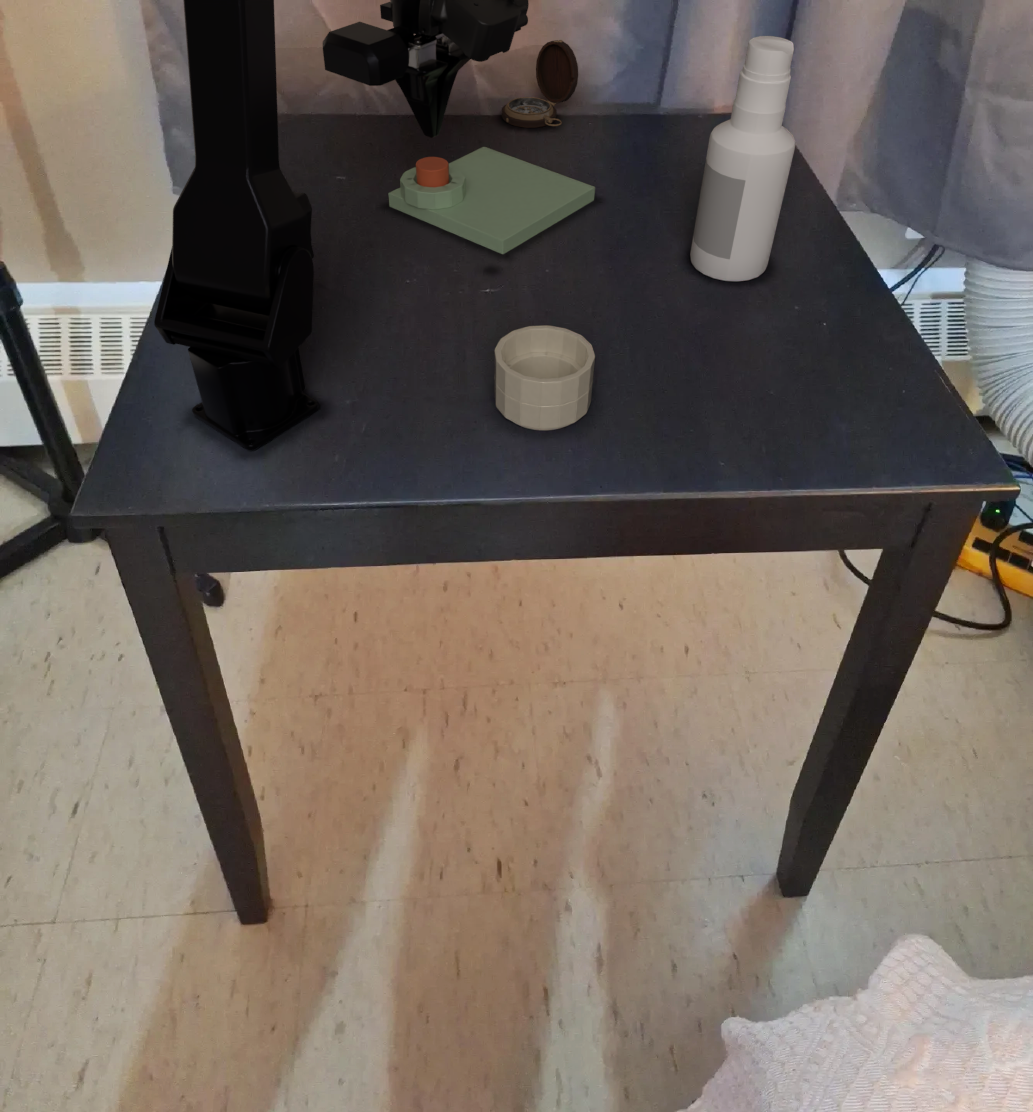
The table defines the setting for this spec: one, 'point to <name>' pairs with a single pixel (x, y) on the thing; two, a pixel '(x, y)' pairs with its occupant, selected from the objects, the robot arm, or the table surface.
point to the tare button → (432, 172)
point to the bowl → (543, 377)
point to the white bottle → (746, 169)
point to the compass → (546, 88)
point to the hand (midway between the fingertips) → (431, 135)
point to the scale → (493, 199)
